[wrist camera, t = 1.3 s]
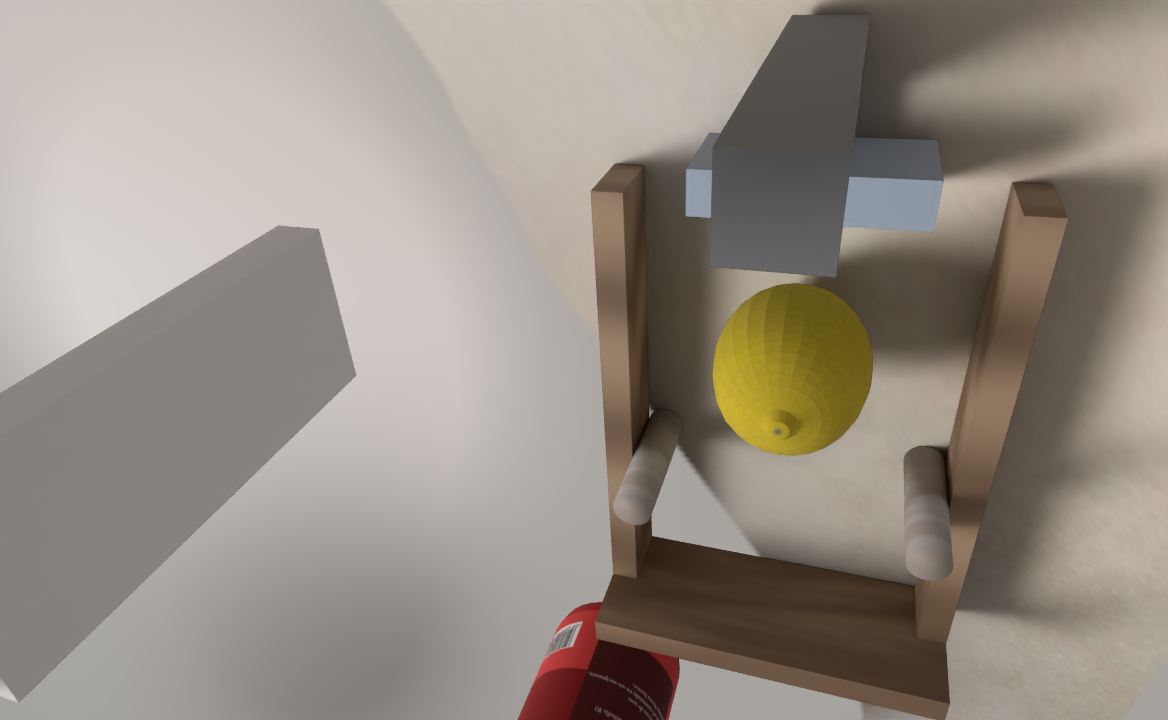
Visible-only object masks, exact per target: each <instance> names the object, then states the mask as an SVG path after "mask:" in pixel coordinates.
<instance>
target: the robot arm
mask: <svg viewBox="0 0 1168 720" xmlns="http://www.w3.org/2000/svg"><path fill="white" fill-rule="evenodd" d="M355 376H356V373H355V369H354V365H353V361H352V357H351V353H350V349H349V345H348V341H347V337H346V334H345V330H344V326H343V322H342V318H341V314H340V310H339V307H338V302H337V298H336V294H335V291H334V287H333V283H332V279H331V275H330V271H329V267H328V263H327V259H326V256H325V252H324V248H323V244H322V240H321V236H320V232H319V229H313V228H300V227H289V226H277V227H275V228H274V229H272V230H270V231H269V232H267V233H266V234H264V235H262V236H260V237H259V238H257V239H256V240H254V241H252V242H251V243H249V244H247V245H246V246H244V247H242V248H241V249H239V250H237V251H236V252H234V253H232V254H231V255H229V256H227V257H226V258H224V259H222V260H221V261H219V262H217V263H216V264H214V265H212V266H211V267H209V268H207V269H206V270H204V271H202V272H201V273H199V274H198V275H196V276H194V277H192V278H191V279H189V280H187V281H186V282H184V283H182V284H181V285H179V286H177V287H176V288H174V289H172V290H171V291H169V292H168V293H166V294H164V295H163V296H161V297H159V298H157V299H156V300H155V301H153V302H151V303H149V304H148V305H146V306H144V307H143V308H141V309H139V310H138V311H136V312H134V313H133V314H131V315H129V316H128V317H126V318H124V319H123V320H121V321H119V322H118V323H116V324H114V325H113V326H111V327H109V328H108V329H106V330H104V331H103V332H101V333H99V334H98V335H96V336H94V337H93V338H91V339H89V340H88V341H86V342H84V343H83V344H81V345H80V346H78V347H76V348H75V349H73V350H71V351H70V352H68V353H66V354H65V355H63V356H61V357H60V358H58V359H56V360H55V361H53V362H51V363H50V364H48V365H47V366H45V367H43V368H42V369H40V370H38V371H36V372H35V373H33V374H31V375H30V376H28V377H26V378H25V379H23V380H21V381H20V382H18V383H16V384H15V385H13V386H12V387H10V388H8V389H7V390H5V391H3V392H2V393H0V696H1V697H4V698H7V699H9V700H12V701H15V702H18V703H19V702H20V701H21V700H22V699H23V698H24V697H25V696H26V695H27V694H28V693H29V692H30V691H31V690H32V689H33V688H35V687H36V686H37V685H38V684H39V683H40V682H41V681H42V680H43V679H44V678H45V677H46V676H47V675H48V674H49V673H50V672H51V671H52V670H53V669H54V668H55V667H56V666H57V665H58V664H59V663H60V662H61V661H62V660H63V659H64V658H65V657H66V656H67V655H68V654H70V653H71V652H72V651H73V650H74V649H75V648H76V647H77V646H78V645H79V644H80V643H81V642H82V641H83V640H84V639H85V638H86V637H87V636H88V635H89V634H90V633H91V632H92V631H93V630H94V629H95V628H96V627H97V626H98V625H99V624H101V622H103V621H104V620H105V619H106V618H107V617H108V616H109V615H110V614H111V613H112V612H113V611H114V610H115V609H116V608H117V607H118V606H119V605H120V604H121V603H122V602H123V601H124V600H125V599H126V598H127V597H128V596H129V595H130V594H131V593H133V592H134V591H135V590H136V589H137V588H138V587H139V586H140V585H141V584H142V583H143V582H144V581H145V580H146V579H147V578H148V577H149V576H150V575H151V574H152V573H153V572H154V571H155V570H156V569H157V568H158V567H159V566H160V565H161V564H162V563H163V562H164V561H165V560H166V559H168V558H169V556H171V555H172V554H173V553H174V552H175V551H176V550H177V549H178V548H179V547H180V546H181V545H182V544H183V543H184V542H185V541H186V540H187V539H188V538H189V537H190V536H191V535H192V534H193V533H194V532H195V531H196V530H197V529H199V527H201V526H202V525H203V524H204V523H205V522H206V521H207V520H208V519H209V518H210V517H211V516H212V515H213V514H214V513H215V512H216V511H217V510H218V509H219V508H220V507H221V506H222V505H223V504H224V503H225V502H226V501H227V500H228V499H229V498H230V497H232V495H234V494H235V493H236V492H237V491H238V490H239V489H240V488H241V487H242V486H243V485H244V484H245V483H246V482H247V481H248V480H249V479H250V478H251V477H252V476H253V475H254V474H255V473H256V472H257V471H258V470H259V469H260V468H261V467H262V466H263V465H264V464H266V462H268V461H269V460H270V459H271V458H272V457H273V456H274V455H275V454H276V453H277V452H278V451H279V450H280V449H281V448H282V447H283V446H284V445H285V444H286V443H287V442H288V441H289V440H290V439H291V438H292V437H293V436H294V435H295V434H296V433H298V432H299V431H300V430H301V429H302V428H303V427H304V426H305V425H306V424H307V423H308V422H309V421H310V420H311V419H312V418H313V417H314V416H315V415H316V414H317V413H318V412H319V411H320V410H321V409H322V408H323V407H324V406H325V405H326V404H327V403H328V402H329V401H331V400H332V399H333V397H335V396H336V395H337V394H338V393H339V392H340V391H341V390H342V389H343V388H344V387H345V386H346V385H347V384H348V383H349V382H350V381H351V380H352V379H353V378H354V377H355Z"/></svg>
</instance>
